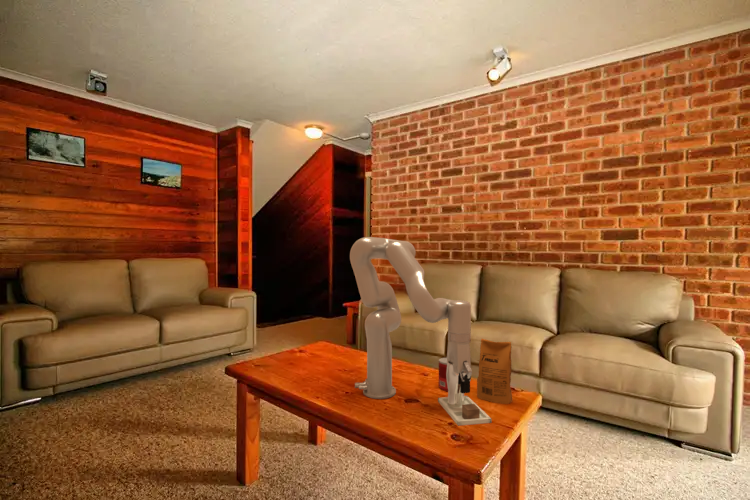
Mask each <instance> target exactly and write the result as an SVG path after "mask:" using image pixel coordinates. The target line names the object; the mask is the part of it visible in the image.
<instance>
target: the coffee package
mask: <svg viewBox="0 0 750 500" xmlns="http://www.w3.org/2000/svg"><path fill="white" fill-rule="evenodd" d="M479 351H480V353H479V361H478V375H477V380H476V393H477V394H476V396H477V398H478V399H479V400H483V401H487V402H490V403H493V404H494V403H495V404H502V405H509V404H511V403H512V402H513V393H512V389H511V381H512V378H511V377H512V341H496V342H495V341H491V340H489V339H485V338H481V340H480V347H479Z"/></svg>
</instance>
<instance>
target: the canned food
mask: <svg viewBox="0 0 750 500" xmlns="http://www.w3.org/2000/svg"><path fill="white" fill-rule="evenodd" d="M446 373H447V357H442V358H439V359H438V388H439V389H440V390H442V391H444V392H448V386H447V378H446Z"/></svg>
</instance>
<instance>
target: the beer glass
mask: <svg viewBox="0 0 750 500" xmlns="http://www.w3.org/2000/svg"><path fill="white" fill-rule="evenodd" d="M464 371H466V370H464ZM465 375H466V374H463V376H465ZM446 378H447V386H448V391H447V397H448V399H447V405H448V406H449V407H450V408H453V409H462V405H465V403H464V396H465V393H461V392H460V381H462V380H461V376H460V373H459V374H456V373H455V372H454V371H453V365H452V364H450V363H449V360H448V363H447V373H446Z"/></svg>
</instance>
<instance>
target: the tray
mask: <svg viewBox="0 0 750 500" xmlns="http://www.w3.org/2000/svg"><path fill="white" fill-rule="evenodd" d="M447 399H448V396H445V397H438V398H437V402H438V404H440V406H441V407H442V408H443V409H444V411H445V412H446V414H448V415H449V417H450V418H451V419H452V420H453V422H454V423H455V424H456V425H457V426H471V425H480V424H481V425H482V424H491V423H492V417H490V416H489V415H488V414H487V413H486V411H484V410H483V409H482V408H481V407H480V406H478V404H477V403H476V402H474V400H472V399H471V398H470V397H469V396H468V395H464V403H465V404H475V405H476V406H477V407H478V408H479V409H480V418H475V419H463V417H462V409H453V408H450V407H449V406H448V405H447Z"/></svg>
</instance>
